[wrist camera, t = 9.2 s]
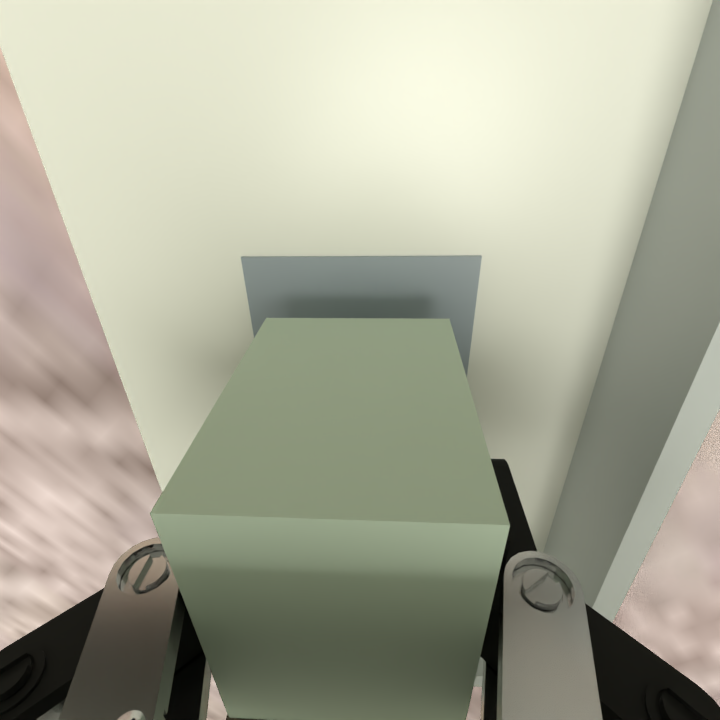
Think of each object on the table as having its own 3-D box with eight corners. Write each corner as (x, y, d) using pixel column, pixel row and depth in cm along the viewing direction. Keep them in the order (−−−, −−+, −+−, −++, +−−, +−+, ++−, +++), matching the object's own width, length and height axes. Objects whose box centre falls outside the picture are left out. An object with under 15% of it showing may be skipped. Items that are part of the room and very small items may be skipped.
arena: (543, 586, 20) (577, 692, 16) (200, 572, 20) (161, 669, 17) (762, -84, 8) (1035, -222, 5) (-13, -46, 9) (-257, -137, 6)
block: (451, 317, 10) (515, 528, 5) (432, 515, 14) (460, 760, 9) (264, 317, 11) (144, 516, 5) (292, 510, 14) (235, 746, 9)
